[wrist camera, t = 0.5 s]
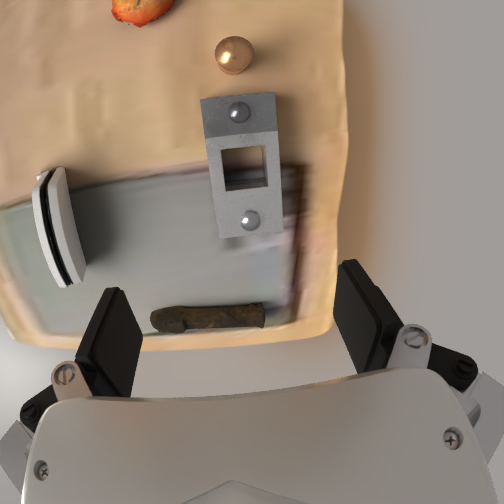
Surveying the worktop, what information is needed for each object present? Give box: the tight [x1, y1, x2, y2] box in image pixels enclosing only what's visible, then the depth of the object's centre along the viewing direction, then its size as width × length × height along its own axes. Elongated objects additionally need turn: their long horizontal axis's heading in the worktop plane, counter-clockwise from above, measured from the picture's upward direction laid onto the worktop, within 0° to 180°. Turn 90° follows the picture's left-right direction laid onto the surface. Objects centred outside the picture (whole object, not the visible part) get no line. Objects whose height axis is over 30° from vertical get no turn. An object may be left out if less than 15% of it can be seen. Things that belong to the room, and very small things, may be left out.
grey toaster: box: [32, 167, 87, 287], centre depth 32 cm, size 17×5×10 cm, turn 179°
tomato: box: [112, 0, 174, 27], centre depth 21 cm, size 8×7×7 cm
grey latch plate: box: [200, 92, 283, 239], centre depth 32 cm, size 17×8×5 cm, turn 5°
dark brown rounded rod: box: [150, 302, 265, 333], centre depth 44 cm, size 19×4×5 cm, turn 87°
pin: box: [215, 36, 254, 75], centre depth 25 cm, size 4×4×7 cm
